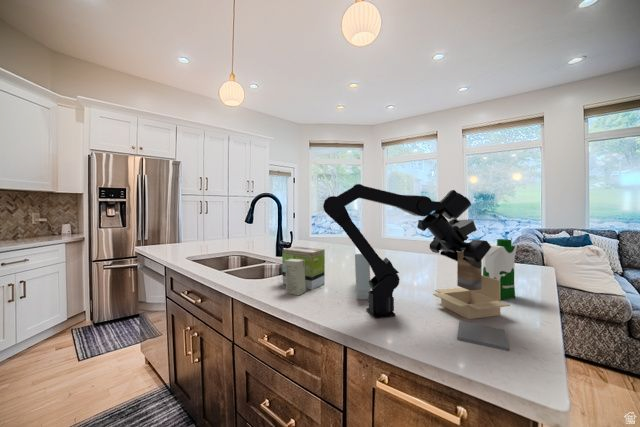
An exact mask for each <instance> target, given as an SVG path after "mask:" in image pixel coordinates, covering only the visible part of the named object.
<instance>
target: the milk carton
mask: <svg viewBox="0 0 640 427" xmlns="http://www.w3.org/2000/svg"><path fill="white" fill-rule="evenodd" d="M489 244H490V245H491V248H490V250H489V251H488V252H487V253H486V255H485V256H484V257H483V259H482V275H483V276H486V277H490V278H493V279H497V280H500V301H503V300H510V299H515V298H516V290H515V289H516V288H515V259H516V258H515V257H516V253H517V249H518V246H517V245H513V244H512V239H508V238H507V239H506V238H504V239H503V238H498V239H497V240H496V243H495V242H494V243H489Z"/></svg>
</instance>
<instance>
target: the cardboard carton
mask: <svg viewBox="0 0 640 427" xmlns="http://www.w3.org/2000/svg"><path fill="white" fill-rule="evenodd" d="M434 292H436V293H432V295H433V296H435V297H437V298H440V301H441V302H440V305H441V306H442V307H443V306H444V307H443V308H446V309H447V310H450V311H451V312H454V313H455V314H457V315H459V316H462V317H464V318H465V319H467V320H474V319H480V318H488V317H495V316H501V308H503V307H505V308H506V307H511V304H509V303H506V302H503V301H502V300H500V280H497V279H493V278H490V277H486V276H483V274H482V284H481V290H471V291H470V290H467V289H465V288H462V287H454V288H444V289H434Z"/></svg>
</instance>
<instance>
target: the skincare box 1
mask: <svg viewBox="0 0 640 427" xmlns="http://www.w3.org/2000/svg"><path fill="white" fill-rule="evenodd" d="M285 270H286V284H285V294H286V293H287V294H291V295H296V296H300V295H303V294H305V293H306V292H307V291H306V290H307V289H306V286H305V260H300V259H289V260H285Z"/></svg>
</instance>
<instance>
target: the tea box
mask: <svg viewBox="0 0 640 427" xmlns="http://www.w3.org/2000/svg"><path fill="white" fill-rule="evenodd" d="M325 251H326V250H325V249H324V248H323V249H322V248H314V247H313V248H312V247H305V246H293V247H288V248H285V249H282V252H281V253H282V255H281V258H282V259H281V260H282V261H281V262H282V266H281V267H282V268H281V270H282V271H281V272H282V273H281V274H282V276H281V277H282V284H283V285H286V270H285V260H289V259H300V260H305V286H306V290H310V291H312V290H314V289H317V288H319V287H321V286H323V285H324V284H325V280H326V279H325V277H326V274H325V272H326V271H325V270H326V269H325V268H326V267H325V261H326V258H325V255H326V254H325Z"/></svg>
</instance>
